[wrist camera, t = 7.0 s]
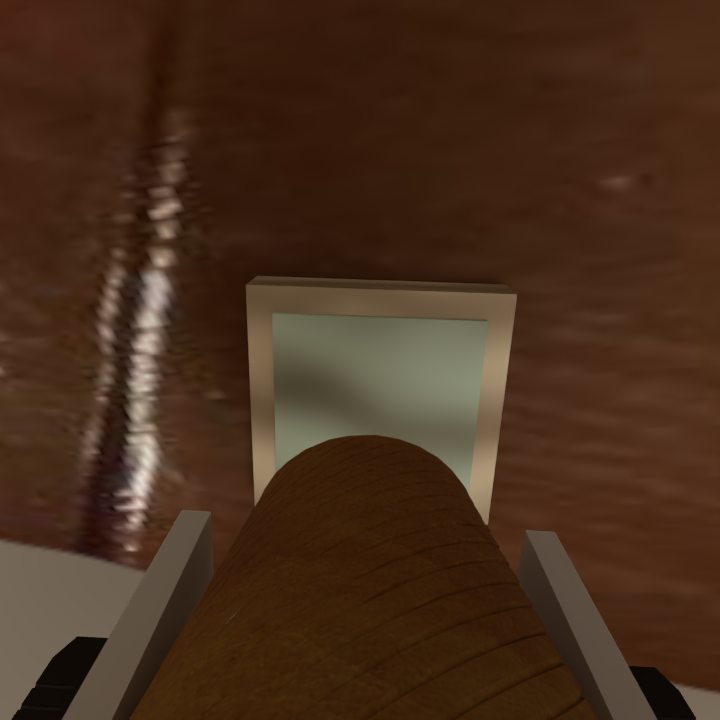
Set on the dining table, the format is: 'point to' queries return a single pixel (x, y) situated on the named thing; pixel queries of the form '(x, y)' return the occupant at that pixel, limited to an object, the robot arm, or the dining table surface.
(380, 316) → the trivet
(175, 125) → the dining table surface
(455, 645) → the disposable coffee cup
